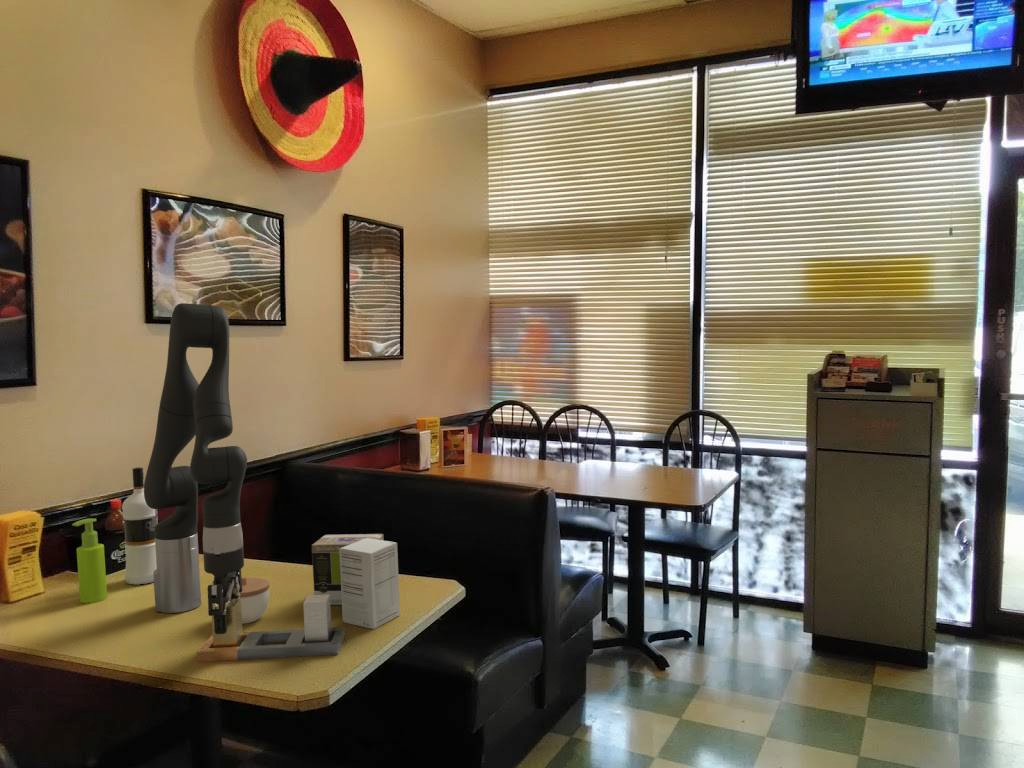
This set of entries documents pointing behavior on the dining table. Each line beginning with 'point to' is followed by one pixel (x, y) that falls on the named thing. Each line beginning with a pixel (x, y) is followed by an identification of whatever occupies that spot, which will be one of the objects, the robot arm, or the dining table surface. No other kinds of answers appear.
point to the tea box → (332, 563)
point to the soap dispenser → (91, 565)
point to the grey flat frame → (272, 646)
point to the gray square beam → (317, 619)
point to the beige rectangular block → (230, 627)
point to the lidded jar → (253, 598)
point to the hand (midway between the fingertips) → (227, 625)
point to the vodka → (139, 534)
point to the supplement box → (369, 582)
